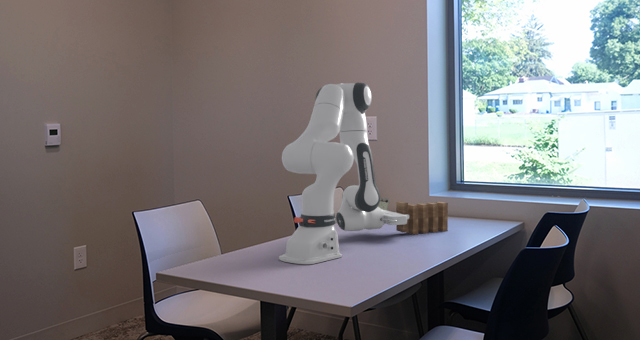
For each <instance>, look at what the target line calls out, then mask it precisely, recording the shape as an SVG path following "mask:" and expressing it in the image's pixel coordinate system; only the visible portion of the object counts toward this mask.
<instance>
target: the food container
mask: <svg viewBox="0 0 640 340" xmlns="http://www.w3.org/2000/svg"><path fill="white" fill-rule="evenodd" d="M389 204H390V199H389V197H388V198H387V197H380V203H379V205H378V207H379V208H381V209H383V210H387V211H389V210H388V209H389Z"/></svg>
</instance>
